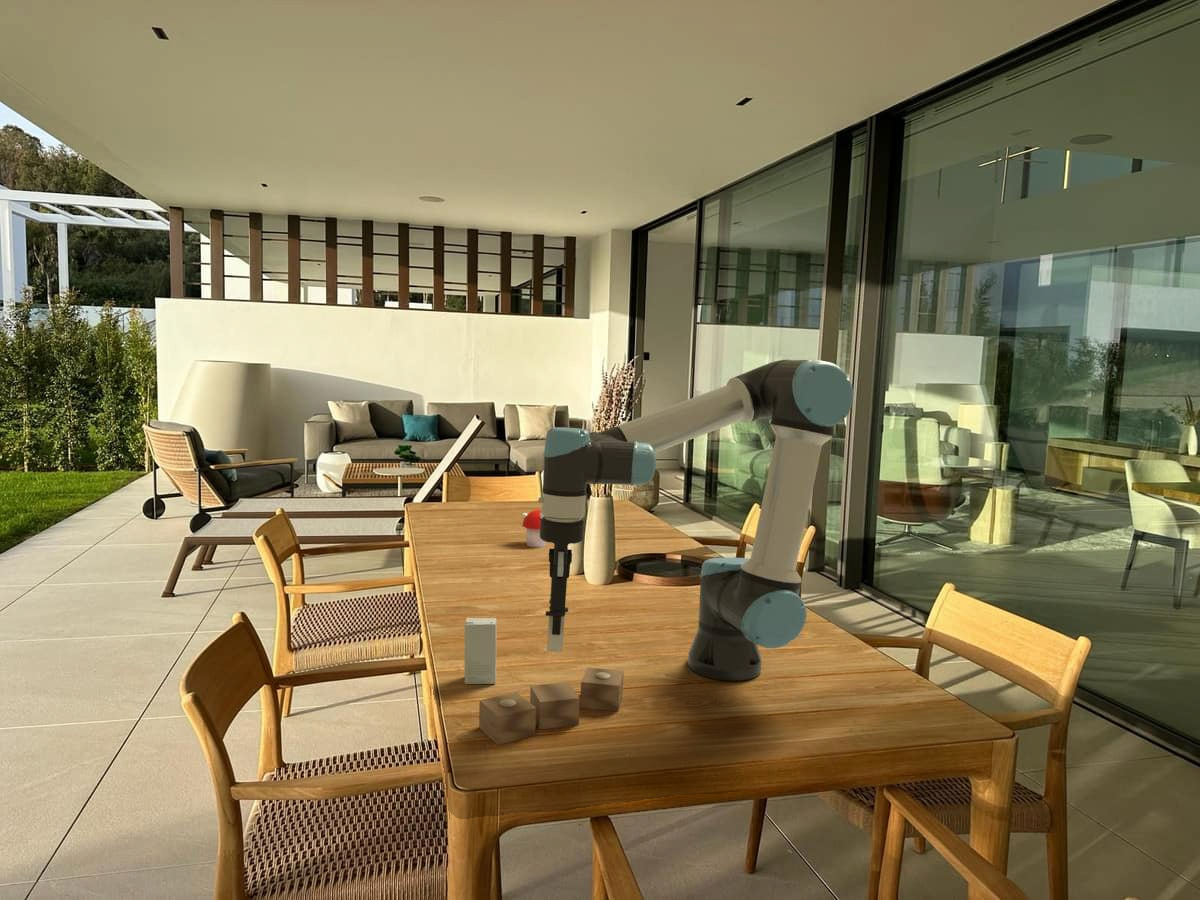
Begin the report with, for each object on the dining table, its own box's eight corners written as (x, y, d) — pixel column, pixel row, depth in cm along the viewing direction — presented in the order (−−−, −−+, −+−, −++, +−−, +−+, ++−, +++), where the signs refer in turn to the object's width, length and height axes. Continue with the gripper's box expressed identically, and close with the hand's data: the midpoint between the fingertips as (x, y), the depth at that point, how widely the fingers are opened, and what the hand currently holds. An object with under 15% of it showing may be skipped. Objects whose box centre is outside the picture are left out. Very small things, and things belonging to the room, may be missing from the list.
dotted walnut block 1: (515, 719, 139) (516, 690, 139) (535, 736, 134) (536, 706, 133) (479, 728, 136) (479, 699, 135) (497, 745, 130) (498, 715, 129)
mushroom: (518, 541, 272) (519, 507, 271) (549, 540, 275) (550, 506, 274) (524, 549, 262) (525, 513, 261) (557, 548, 265) (558, 512, 264)
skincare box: (496, 676, 158) (498, 616, 156) (495, 685, 153) (497, 624, 152) (464, 676, 157) (466, 616, 156) (463, 685, 152) (464, 623, 151)
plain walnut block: (567, 708, 145) (568, 682, 144) (578, 725, 138) (579, 698, 137) (529, 712, 142) (530, 685, 142) (539, 730, 136) (540, 702, 135)
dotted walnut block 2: (622, 696, 151) (623, 669, 150) (618, 712, 144) (619, 684, 143) (586, 692, 152) (587, 666, 151) (580, 708, 145) (581, 680, 144)
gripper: (541, 509, 144) (534, 636, 146) (540, 524, 131) (532, 663, 133) (582, 511, 144) (575, 638, 147) (585, 526, 131) (577, 665, 134)
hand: (554, 650), depth 140 cm, fingers closed
